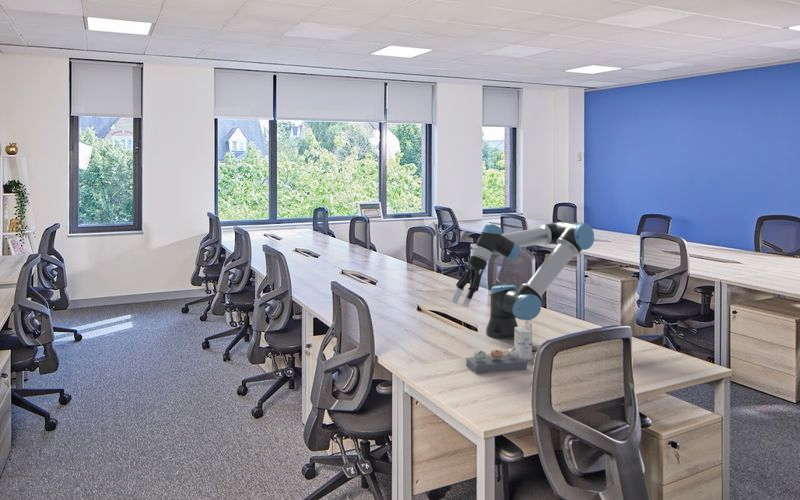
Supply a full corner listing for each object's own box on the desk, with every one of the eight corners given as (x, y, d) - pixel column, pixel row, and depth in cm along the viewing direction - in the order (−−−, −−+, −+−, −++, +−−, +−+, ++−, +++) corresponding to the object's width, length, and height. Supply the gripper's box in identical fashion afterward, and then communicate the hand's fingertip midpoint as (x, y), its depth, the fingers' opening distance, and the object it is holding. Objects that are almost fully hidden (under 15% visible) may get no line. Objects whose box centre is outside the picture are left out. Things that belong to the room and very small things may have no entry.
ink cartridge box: (513, 354, 263) (514, 319, 261) (524, 353, 264) (525, 319, 262) (520, 360, 255) (521, 324, 253) (532, 359, 256) (533, 324, 254)
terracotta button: (499, 354, 248) (499, 349, 248) (504, 357, 244) (504, 352, 243) (489, 355, 247) (489, 349, 246) (493, 358, 242) (493, 352, 242)
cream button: (515, 353, 250) (516, 347, 249) (520, 356, 245) (521, 350, 245) (505, 353, 248) (505, 348, 248) (510, 357, 244) (510, 351, 244)
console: (515, 361, 253) (515, 354, 253) (527, 368, 244) (527, 361, 243) (466, 365, 248) (466, 358, 247) (476, 373, 238) (476, 365, 238)
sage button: (482, 355, 246) (483, 350, 246) (487, 359, 242) (487, 353, 242) (472, 356, 245) (472, 351, 245) (476, 359, 241) (476, 354, 240)
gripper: (462, 254, 280) (442, 297, 278) (483, 255, 255) (461, 303, 253) (476, 261, 281) (456, 304, 279) (499, 263, 257) (477, 310, 255)
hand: (459, 304), depth 266 cm, fingers open, 13 cm apart
